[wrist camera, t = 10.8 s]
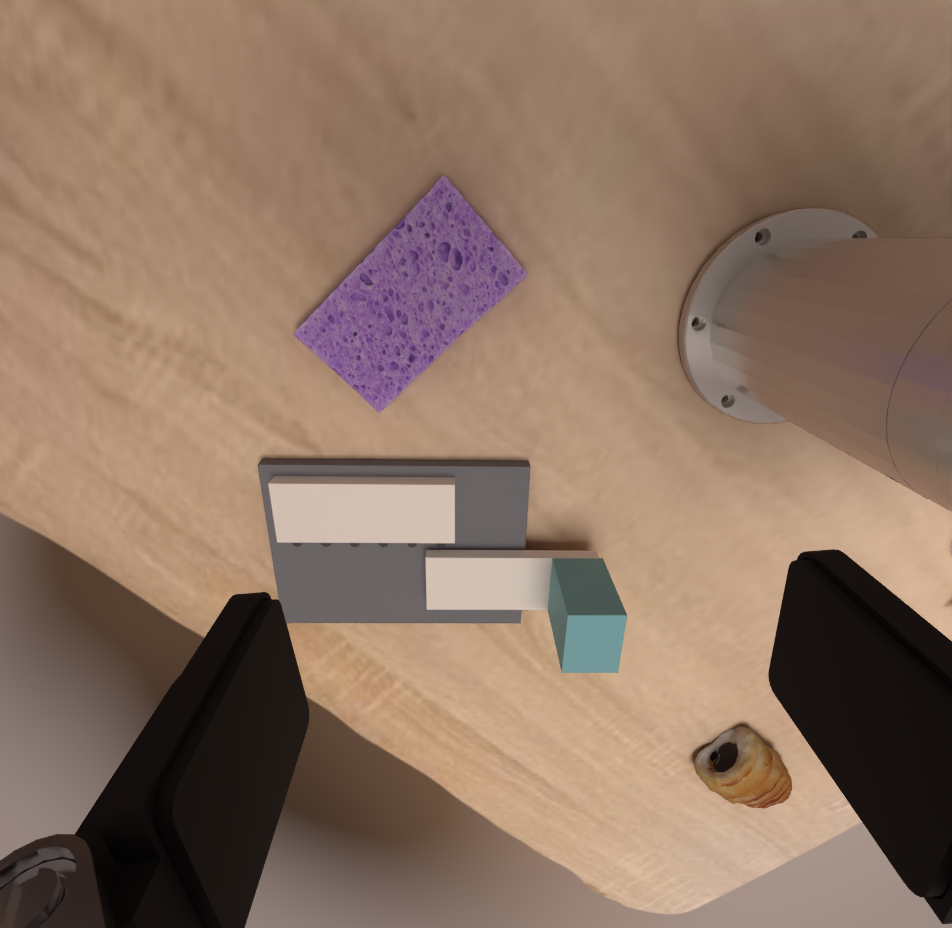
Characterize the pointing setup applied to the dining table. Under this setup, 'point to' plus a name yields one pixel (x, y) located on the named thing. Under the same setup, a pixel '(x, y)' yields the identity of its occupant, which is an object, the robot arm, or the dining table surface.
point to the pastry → (744, 769)
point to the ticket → (363, 510)
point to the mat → (395, 544)
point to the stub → (538, 597)
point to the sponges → (411, 296)
